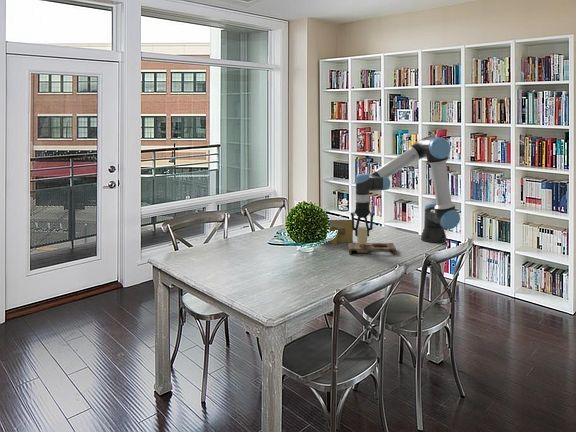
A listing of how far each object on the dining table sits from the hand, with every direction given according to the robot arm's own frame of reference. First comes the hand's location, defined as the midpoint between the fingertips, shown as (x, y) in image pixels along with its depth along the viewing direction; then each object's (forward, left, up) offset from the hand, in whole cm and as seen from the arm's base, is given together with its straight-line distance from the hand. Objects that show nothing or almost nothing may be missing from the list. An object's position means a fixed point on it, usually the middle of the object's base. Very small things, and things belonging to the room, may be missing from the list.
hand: (362, 241), depth 288 cm
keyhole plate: (-5, 0, -6) cm, 8 cm away
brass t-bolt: (0, 0, -6) cm, 6 cm away
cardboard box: (+16, -20, -6) cm, 26 cm away
